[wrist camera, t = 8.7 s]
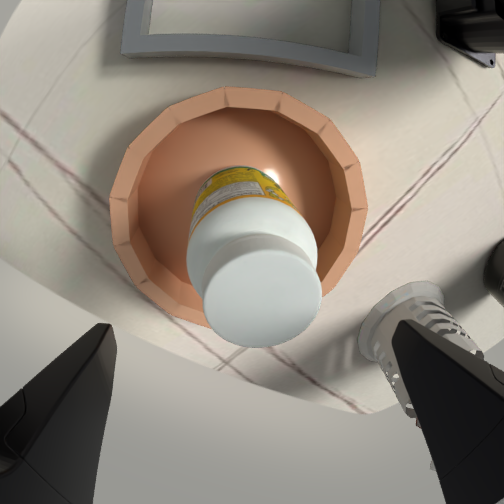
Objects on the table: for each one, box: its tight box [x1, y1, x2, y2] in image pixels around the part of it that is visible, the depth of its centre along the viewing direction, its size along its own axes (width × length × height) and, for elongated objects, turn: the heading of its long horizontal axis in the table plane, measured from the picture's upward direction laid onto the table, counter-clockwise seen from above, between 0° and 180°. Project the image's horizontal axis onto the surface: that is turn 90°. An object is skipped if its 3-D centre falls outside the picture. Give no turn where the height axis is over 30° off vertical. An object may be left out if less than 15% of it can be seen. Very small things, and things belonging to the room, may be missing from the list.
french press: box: [357, 281, 484, 471], centre depth 16 cm, size 10×12×25 cm
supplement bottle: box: [186, 165, 322, 348], centre depth 14 cm, size 5×5×10 cm
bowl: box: [109, 86, 368, 329], centre depth 18 cm, size 14×14×4 cm
